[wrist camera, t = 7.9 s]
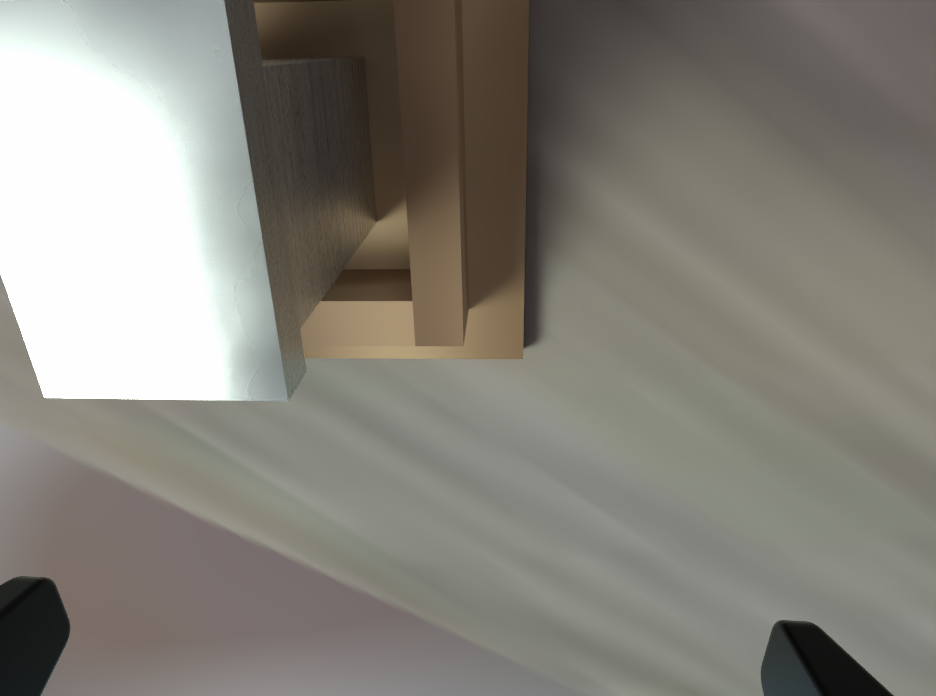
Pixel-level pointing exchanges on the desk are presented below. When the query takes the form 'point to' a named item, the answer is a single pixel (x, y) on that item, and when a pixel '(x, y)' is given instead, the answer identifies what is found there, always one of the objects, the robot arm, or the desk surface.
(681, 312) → the desk surface
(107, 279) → the stepped grey box
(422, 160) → the frame
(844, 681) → the robot arm
